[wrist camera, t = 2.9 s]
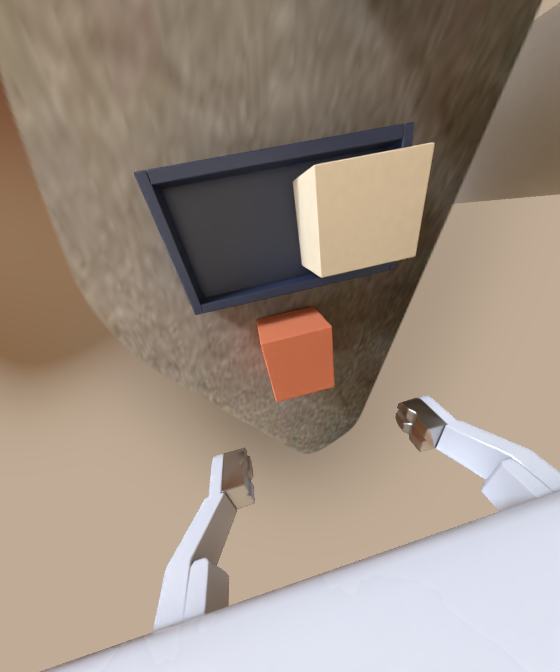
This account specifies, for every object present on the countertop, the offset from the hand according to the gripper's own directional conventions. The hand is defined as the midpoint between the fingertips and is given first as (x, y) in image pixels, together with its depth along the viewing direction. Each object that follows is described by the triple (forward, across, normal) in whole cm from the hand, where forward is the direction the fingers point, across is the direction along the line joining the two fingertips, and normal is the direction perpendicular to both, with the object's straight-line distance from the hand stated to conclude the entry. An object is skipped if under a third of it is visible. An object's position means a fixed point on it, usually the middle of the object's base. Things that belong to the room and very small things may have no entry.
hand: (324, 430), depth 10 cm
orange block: (+9, 0, 0) cm, 9 cm away
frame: (+9, -1, -9) cm, 13 cm away
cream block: (+9, -5, -9) cm, 13 cm away
